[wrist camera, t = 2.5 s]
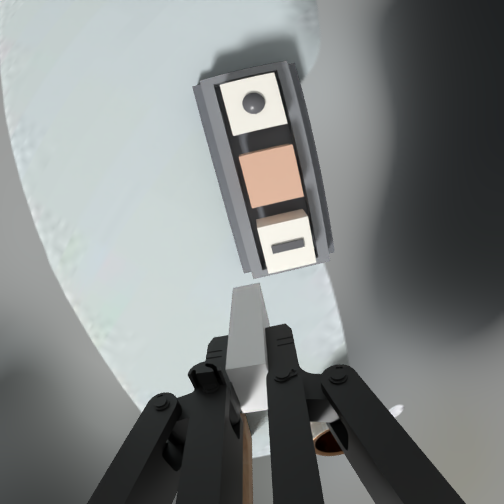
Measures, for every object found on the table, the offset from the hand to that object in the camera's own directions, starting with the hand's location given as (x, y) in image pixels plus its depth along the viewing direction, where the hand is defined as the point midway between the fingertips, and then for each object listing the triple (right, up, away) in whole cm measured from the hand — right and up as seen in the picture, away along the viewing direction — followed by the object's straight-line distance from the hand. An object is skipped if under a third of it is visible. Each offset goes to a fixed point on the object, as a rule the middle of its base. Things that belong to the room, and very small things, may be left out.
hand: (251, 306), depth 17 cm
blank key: (+2, +11, +13) cm, 17 cm away
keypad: (+2, +12, +16) cm, 21 cm away
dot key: (0, +17, +10) cm, 20 cm away
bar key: (+3, +5, +16) cm, 17 cm away
